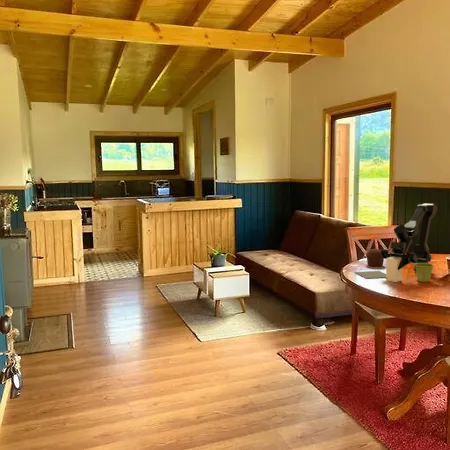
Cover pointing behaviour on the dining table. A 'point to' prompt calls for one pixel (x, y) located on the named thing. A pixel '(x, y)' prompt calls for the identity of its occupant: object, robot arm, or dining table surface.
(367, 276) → the mat
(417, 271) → the plant pot
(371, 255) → the muffin
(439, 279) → the dining table surface
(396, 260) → the tall cream pillar
